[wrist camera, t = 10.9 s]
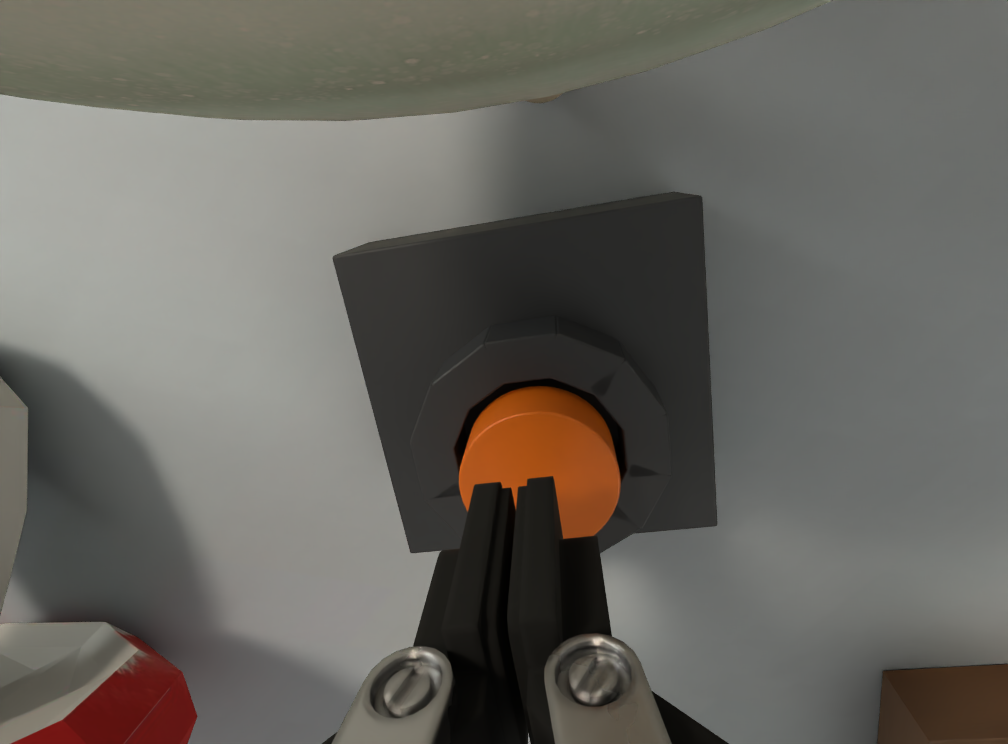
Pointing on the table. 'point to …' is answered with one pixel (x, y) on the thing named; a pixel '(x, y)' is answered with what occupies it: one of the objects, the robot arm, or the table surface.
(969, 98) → the table surface
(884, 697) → the dial panel
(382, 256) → the button base
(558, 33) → the planter
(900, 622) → the table surface
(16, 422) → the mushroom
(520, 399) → the orange push button
